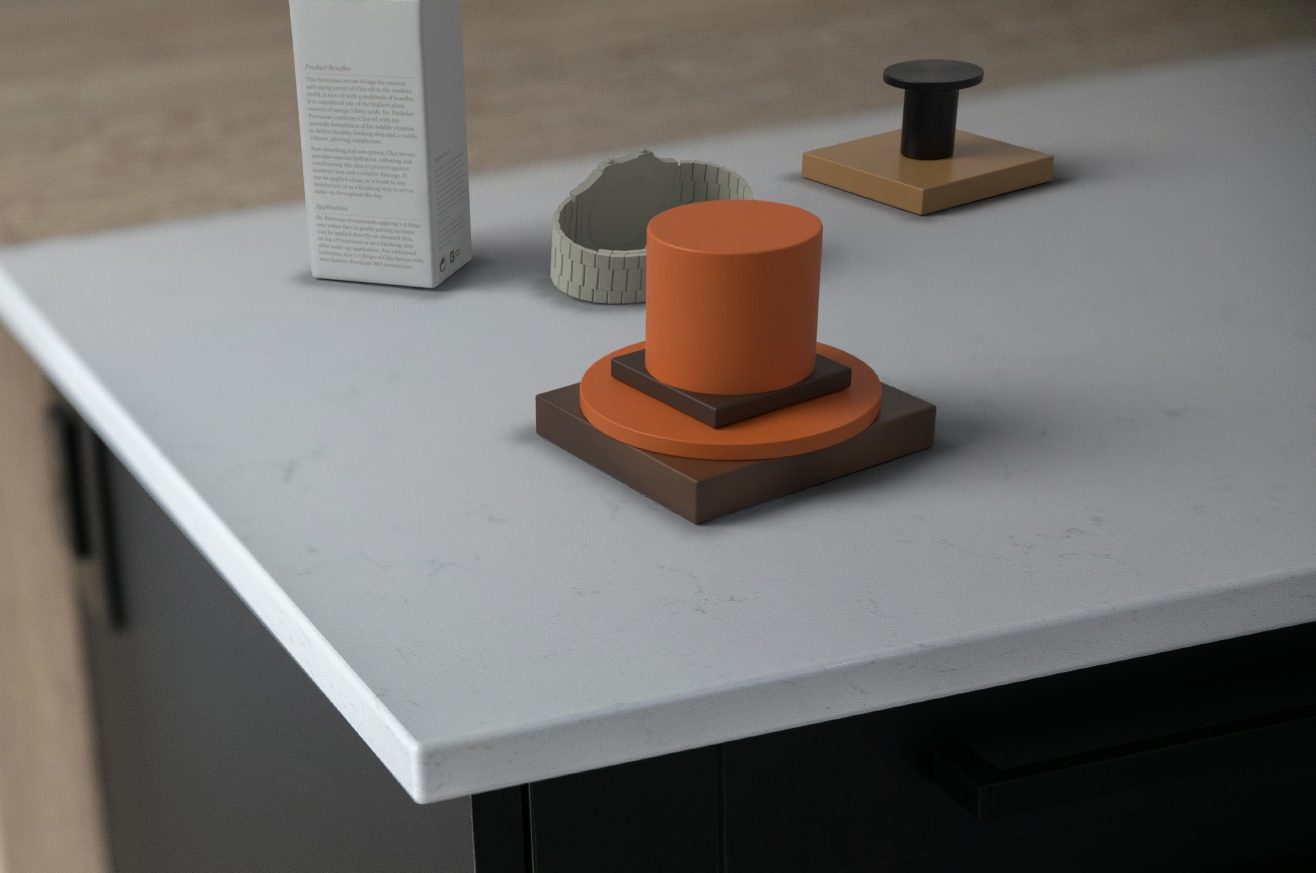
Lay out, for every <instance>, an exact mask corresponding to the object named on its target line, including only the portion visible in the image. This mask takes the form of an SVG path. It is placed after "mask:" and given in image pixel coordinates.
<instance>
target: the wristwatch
mask: <svg viewBox="0 0 1316 873" xmlns="http://www.w3.org/2000/svg"><path fill="white" fill-rule="evenodd" d="M715 200H754V193H753V190H752V186H751V185H750V184H749V183H748V181H747V180H746V179H745V177H743V176H741V175H740V174H739V173H738V172H736V171H735V170H732V169H730V168H728V167H726V166H723V165H720V164H719V163H718V164H717V163H715V162H714V163H713V162H710V161H708V162H707V161H704V160H703V161H702V160H691V159H690V160H684V159H681V160H679V161H678V160H676V159H674V158H673V157H658V156H656V155H655V154H654V152H653V151H652V150H650V149H649V148H647V147H640V148H639V149H635V150H633V151H632V152H631V153H629V154H625V155H622V156H619V157H617V158H615V157H608V158H606V159H605V160H603V161H600V162H599V163H598V164H597V166H596V168H594V169H593V170H592V171H591V172H590V173H589V174H588V175H587V177H586V178H585V179H584V180H583V181H582V182H580V183H579V184H578V185H577V186H576V187H574V188H573V189H571V190H570V191H569V196H566V198H565V199H564V200H562V202H561V203H559V204H558V206H557V208H556V209H555V211H554V213H553V220H552V232H551V233H552V234H551V253H550V254H551V256H550V276H549V277H550V279H551V281H552V284H553V285H554V286H555V287H556V288H557V289H558V290H559V291H561V292H562V293H564V294H567V295H568V296H569V297H573V298H576V299H580V301H581V300H582V301H587V302H593V303H599V304H600V303H601V304H608V305H609V304H610V305H613V304H622V305H625V304H634V303H646V251H647V226H648V224H649V222H650V221H651V219H653V218H654V217H655V216H657V215H658V214H660V213H662V212H664V211H667V210H669V209H672V208H675V207H679V206H683V205H687V204H692V203H698V202H705V201H715Z"/></svg>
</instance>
